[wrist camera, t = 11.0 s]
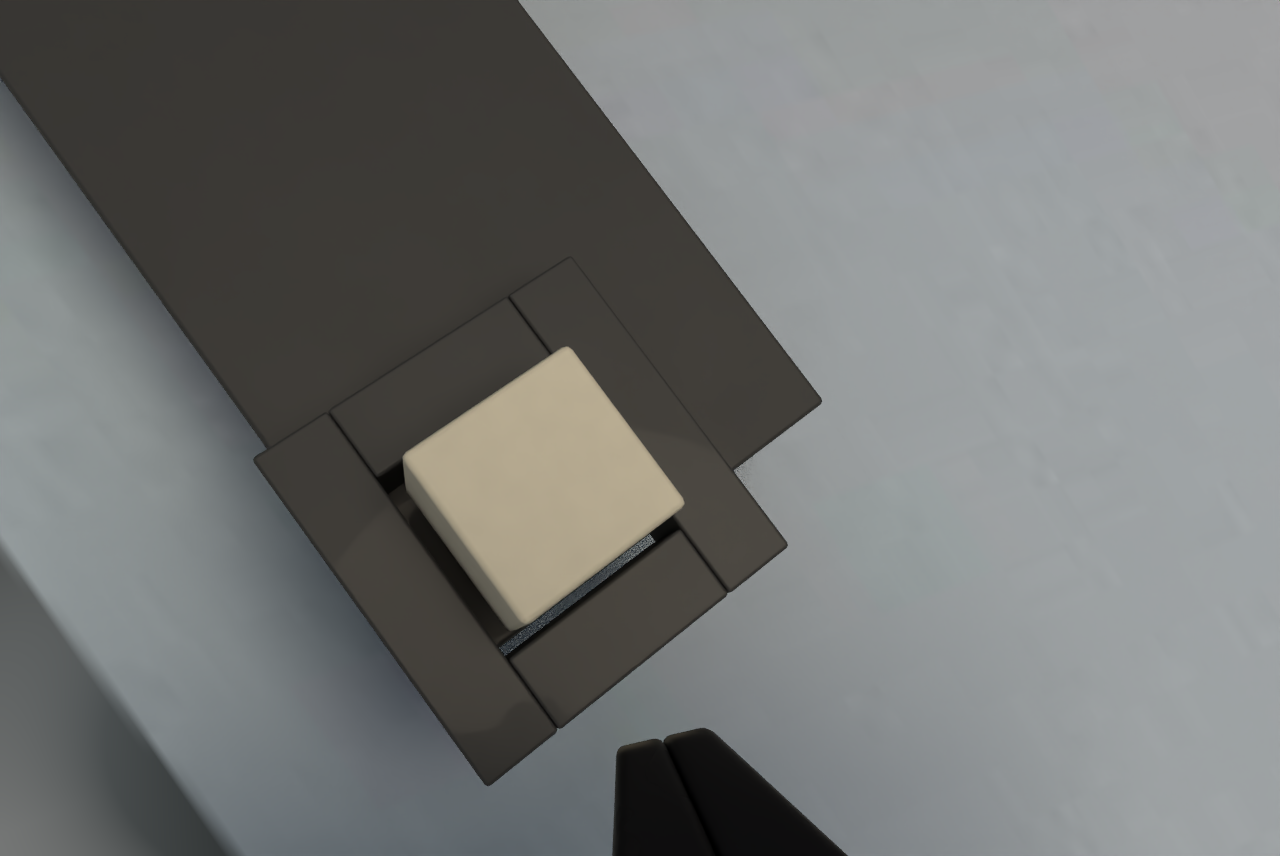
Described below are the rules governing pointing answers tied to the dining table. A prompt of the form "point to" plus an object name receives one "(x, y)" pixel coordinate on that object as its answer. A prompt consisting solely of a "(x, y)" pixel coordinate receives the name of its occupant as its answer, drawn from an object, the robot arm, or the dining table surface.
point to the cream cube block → (538, 488)
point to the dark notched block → (418, 299)
